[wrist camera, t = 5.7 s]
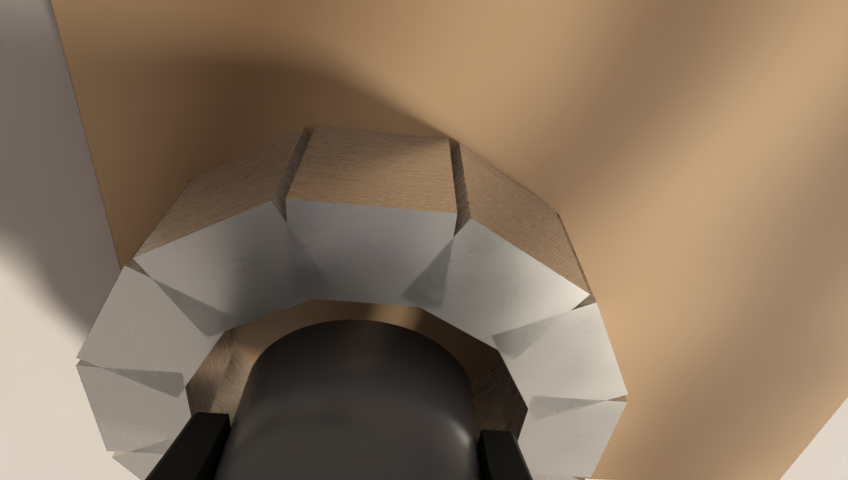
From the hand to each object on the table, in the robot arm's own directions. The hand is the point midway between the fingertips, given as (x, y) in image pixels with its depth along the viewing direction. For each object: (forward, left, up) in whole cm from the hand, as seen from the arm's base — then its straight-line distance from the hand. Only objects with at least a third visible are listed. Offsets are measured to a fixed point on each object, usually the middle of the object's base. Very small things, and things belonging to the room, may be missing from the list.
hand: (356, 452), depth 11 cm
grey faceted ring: (0, 0, -4) cm, 4 cm away
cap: (0, 0, -1) cm, 1 cm away
